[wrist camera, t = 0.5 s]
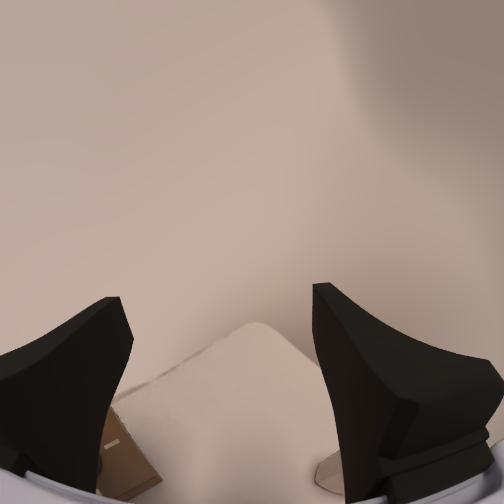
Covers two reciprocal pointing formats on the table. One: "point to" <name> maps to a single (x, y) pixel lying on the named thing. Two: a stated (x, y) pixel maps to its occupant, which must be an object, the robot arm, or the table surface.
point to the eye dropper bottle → (331, 474)
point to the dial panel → (122, 463)
